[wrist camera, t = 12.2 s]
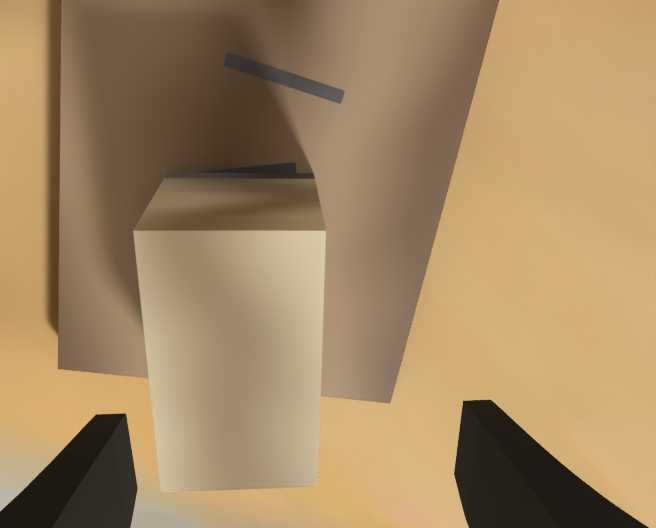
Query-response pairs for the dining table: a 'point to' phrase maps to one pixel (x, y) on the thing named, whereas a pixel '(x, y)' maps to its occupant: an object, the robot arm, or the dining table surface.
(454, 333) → the dining table surface
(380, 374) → the plank
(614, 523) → the robot arm
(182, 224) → the block
